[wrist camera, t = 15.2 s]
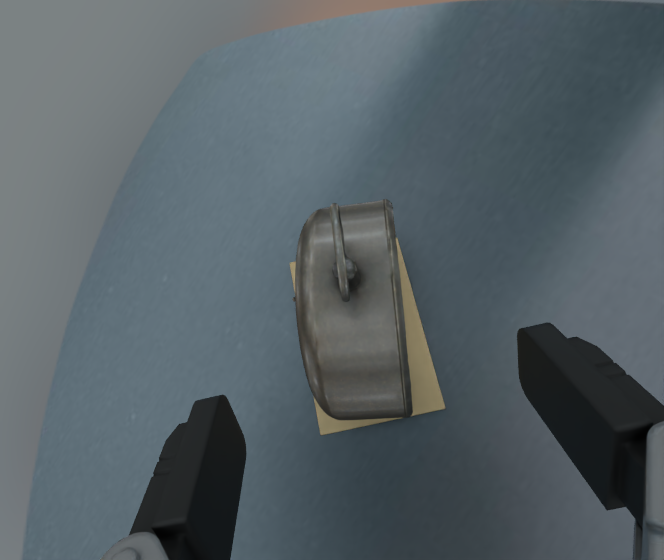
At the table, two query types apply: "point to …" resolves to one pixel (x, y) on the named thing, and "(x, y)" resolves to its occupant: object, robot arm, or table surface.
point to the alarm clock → (353, 312)
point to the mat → (419, 361)
